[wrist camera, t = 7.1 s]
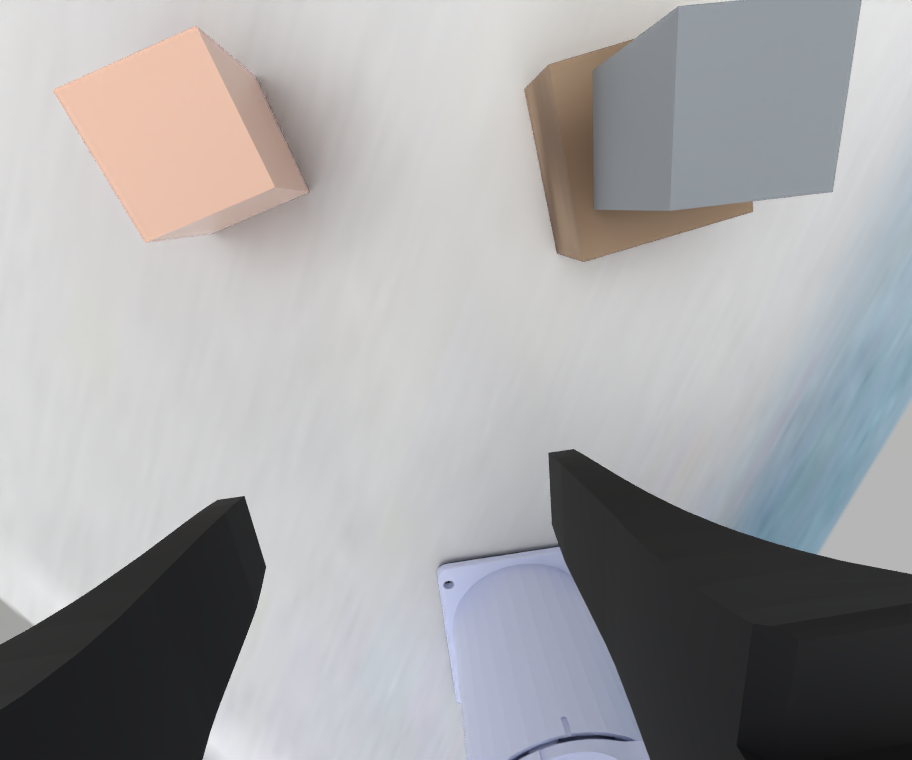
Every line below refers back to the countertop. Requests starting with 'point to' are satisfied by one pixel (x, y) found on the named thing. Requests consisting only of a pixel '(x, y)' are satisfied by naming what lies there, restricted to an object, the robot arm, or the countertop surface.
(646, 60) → the slate block
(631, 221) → the walnut block
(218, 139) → the terracotta block
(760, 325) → the countertop surface
